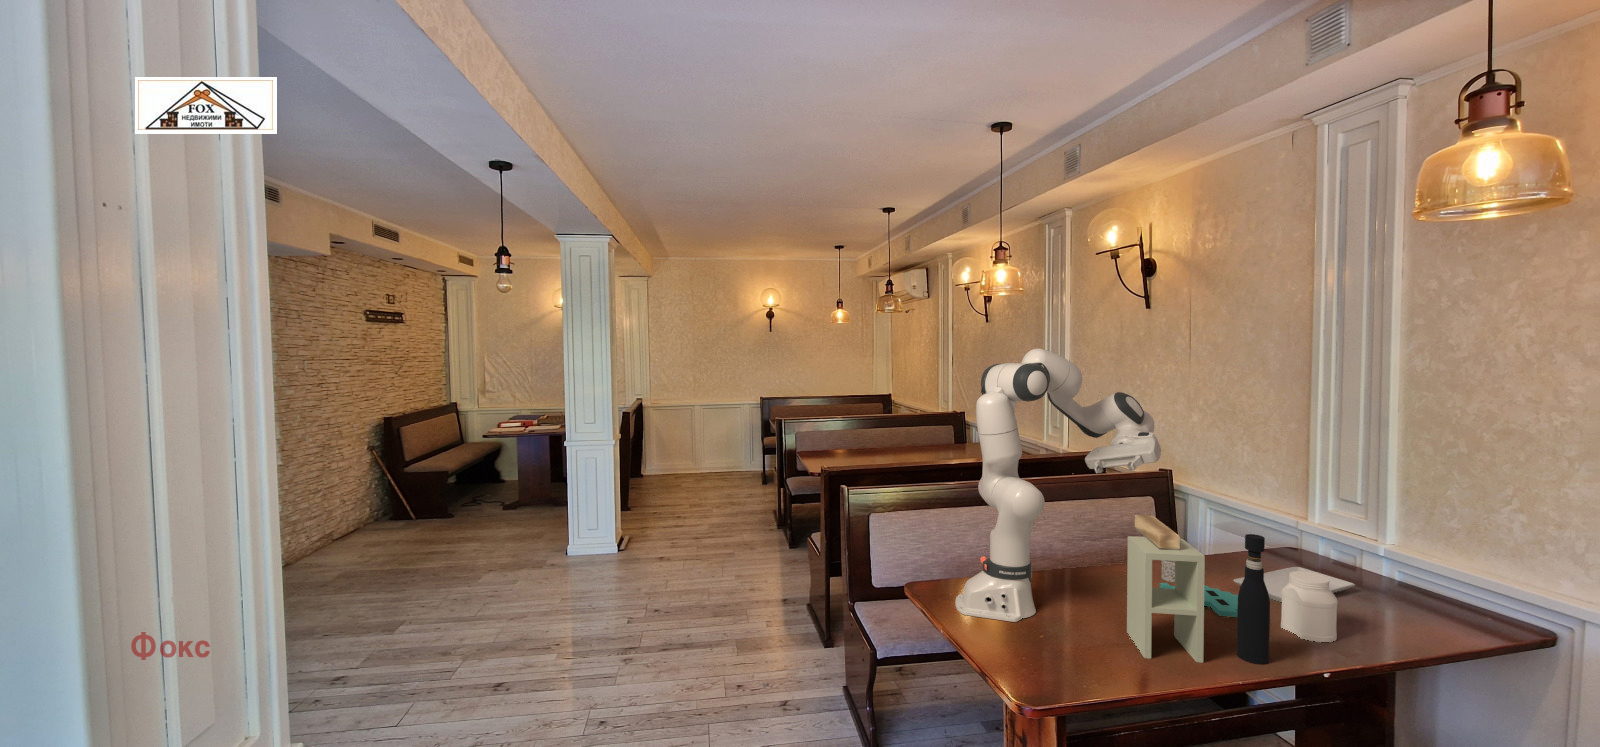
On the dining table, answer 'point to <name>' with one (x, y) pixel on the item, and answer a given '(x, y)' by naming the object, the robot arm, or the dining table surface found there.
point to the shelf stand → (1166, 595)
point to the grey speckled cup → (1168, 571)
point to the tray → (1281, 578)
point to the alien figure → (1217, 600)
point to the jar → (1309, 607)
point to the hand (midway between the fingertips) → (1114, 469)
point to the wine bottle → (1253, 607)
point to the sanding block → (1157, 532)
